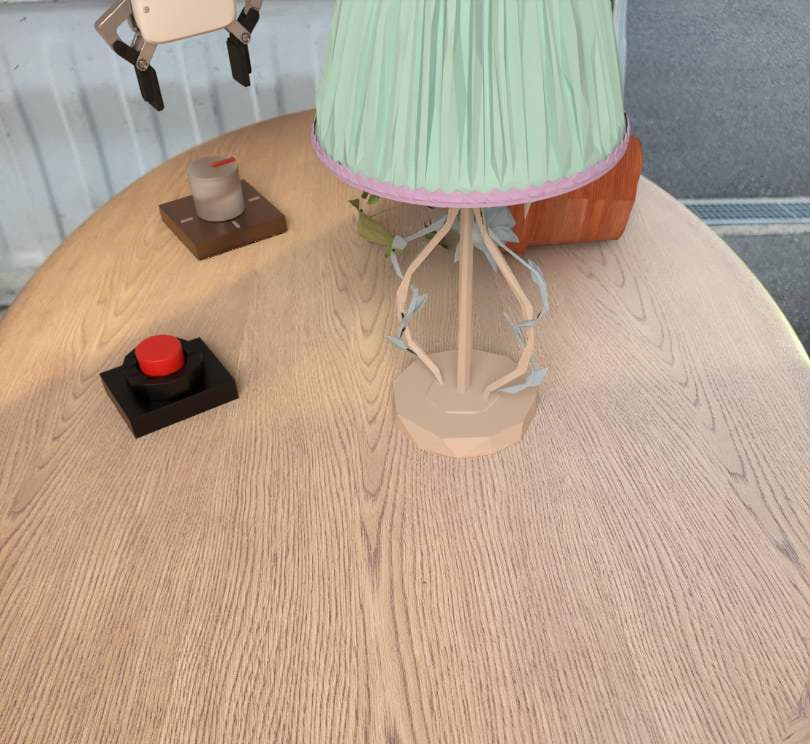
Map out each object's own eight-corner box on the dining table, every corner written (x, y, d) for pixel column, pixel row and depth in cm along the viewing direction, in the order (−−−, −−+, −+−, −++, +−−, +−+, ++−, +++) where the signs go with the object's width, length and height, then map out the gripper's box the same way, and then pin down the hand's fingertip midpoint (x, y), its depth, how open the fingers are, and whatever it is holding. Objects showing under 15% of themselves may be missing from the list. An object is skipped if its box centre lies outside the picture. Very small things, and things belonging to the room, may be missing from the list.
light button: (149, 383, 76) (144, 366, 75) (133, 360, 79) (128, 344, 77) (192, 367, 78) (187, 350, 76) (174, 345, 80) (170, 329, 79)
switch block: (136, 439, 77) (123, 404, 74) (105, 392, 81) (92, 357, 78) (239, 398, 80) (231, 363, 77) (204, 355, 85) (195, 320, 82)
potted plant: (602, 222, 103) (305, 203, 102) (636, 89, 91) (299, 66, 90) (618, 303, 93) (289, 283, 92) (658, 167, 81) (281, 142, 80)
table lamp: (619, 375, 81) (721, -179, 51) (527, 529, 68) (593, -86, 38) (412, 317, 88) (397, -196, 58) (295, 447, 75) (199, -123, 46)
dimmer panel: (199, 261, 97) (194, 243, 95) (162, 221, 103) (157, 203, 101) (287, 231, 100) (284, 214, 99) (246, 194, 107) (243, 177, 105)
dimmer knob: (208, 226, 97) (198, 180, 94) (188, 206, 101) (178, 161, 97) (253, 212, 99) (245, 166, 95) (232, 193, 103) (224, 148, 99)
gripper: (228, -130, 83) (259, 63, 96) (51, -96, 77) (108, 104, 90) (263, -115, 79) (290, 85, 91) (77, -79, 73) (134, 129, 86)
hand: (199, 94), depth 91 cm, fingers open, 9 cm apart
